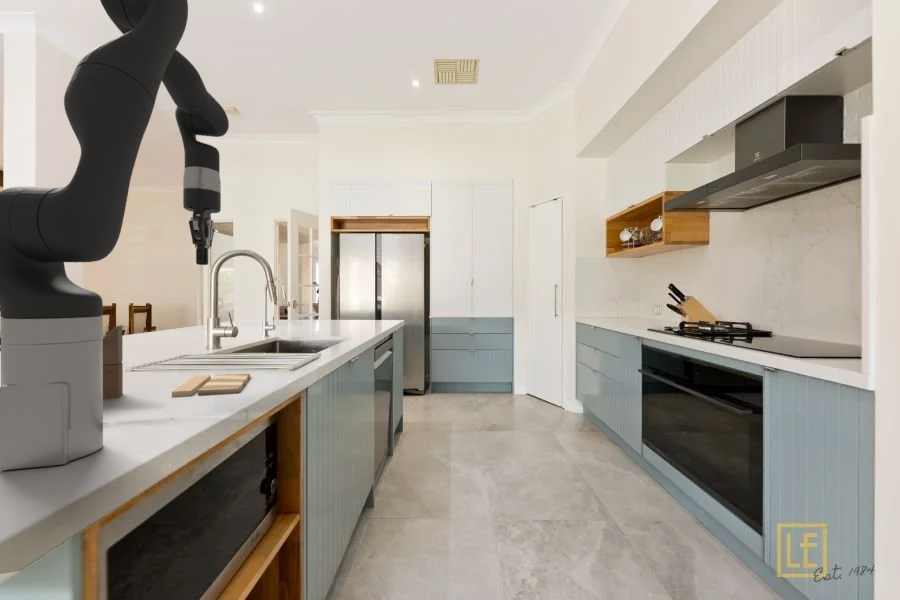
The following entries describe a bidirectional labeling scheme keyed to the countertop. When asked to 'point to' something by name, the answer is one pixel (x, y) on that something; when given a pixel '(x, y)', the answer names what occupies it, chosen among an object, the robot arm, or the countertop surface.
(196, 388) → the floor section
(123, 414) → the countertop surface
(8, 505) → the countertop surface
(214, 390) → the board
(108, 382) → the wooden block
